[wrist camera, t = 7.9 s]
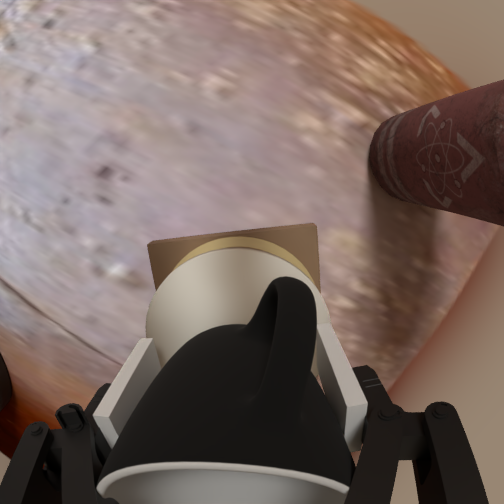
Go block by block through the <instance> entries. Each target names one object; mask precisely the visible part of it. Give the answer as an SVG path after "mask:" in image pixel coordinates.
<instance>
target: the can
mask: <svg viewBox="0 0 504 504" xmlns="http://www.w3.org/2000/svg"><path fill="white" fill-rule="evenodd" d="M370 162H371V166H372V170H373V174H374V176H375V177H376V179H377V181H378V182H379V184H380V186H381V187H382V188H383V189H384V190H385V191H386V192H387V193H388V194H389V195H391V196H393V197H395V198H397V199H399V200H401V201H405V202H410V203H414V204H419V205H423V206H428V207H432V208H436V209H440V210H444V211H448V212H452V213H456V214H460V215H464V216H468V217H472V218H476V219H479V220H483V221H487V222H490V223H494V224H497V225H501V226H504V80H501V81H497V82H494V83H491V84H487V85H484V86H481V87H477V88H474V89H471V90H468V91H465V92H462V93H458V94H455V95H452V96H449V97H446V98H443V99H440V100H438V101H435V102H432V103H429V104H426V105H423V106H420V107H418V108H415V109H412V110H409V111H407V112H404V113H401V114H398V115H396V116H393V117H391V118H389V119H388V120H386V121H385V122H383V123H382V124H381V125H380V126H379V128H378V129H377V130H376V132H375V133H374V136H373V139H372V142H371V145H370Z"/></svg>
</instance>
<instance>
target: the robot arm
mask: <svg viewBox="0 0 504 504" xmlns="http://www.w3.org/2000/svg"><path fill="white" fill-rule="evenodd" d="M316 350H317V370H318V373H319V376H320V379H321V383H322V386H323V389H324V393H325V396H326V398H327V400H328V403H329V405H330V407H331V409H332V411H333V413H334V415H335V417H336V420H337V422H338V424H339V426H340V428H341V431H342V433H343V435H344V438H345V440H346V443H347V445H348V448H349V450H350V452H355V451H360V450H361V453H360V456H359V460H358V463H357V466H356V470H355V473H354V476H353V479H352V482H351V485H350V488H349V491H348V494H347V497H346V499H345V502H344V504H390V501H391V496H392V491H393V487H394V482H395V477H396V472H397V466H398V461H399V460H412V463H413V469H414V475H415V481H416V487H417V494H418V500H419V504H489V503H488V499H487V496H486V492H485V489H484V486H483V482H482V479H481V476H480V473H479V470H478V467H477V464H476V461H475V458H474V455H473V452H472V450H471V447H470V444H469V442H468V439H467V436H466V433H465V431H464V428H463V426H462V423H461V421H460V418H459V416H458V413H457V411H456V409H455V408H454V406H453V405H451V404H449V403H446V402H435V403H431V404H430V405H429V406H427V408H426V410H425V412H415V413H411V412H404V411H403V409H402V408H401V407H399V406H398V405H395V404H393V403H392V401H391V400H390V398H389V396H388V394H387V392H386V390H385V388H384V387H383V385H382V384H381V381H380V379H378V376H377V374H376V372H375V371H374V370H373V369H372V368H370V367H369V366H367V365H365V366H360V367H354V368H351V365H350V363H349V361H348V359H347V357H346V355H345V353H344V351H343V349H342V346H341V344H340V342H339V340H338V338H337V336H336V334H335V332H334V330H333V328H332V326H331V324H330V323H324V324H317V334H316ZM160 371H161V365H160V362H159V358H158V355H157V351H156V348H155V344H154V340H153V338H142V339H140V340H139V341H138V343H137V345H136V346H135V348H134V349H133V351H132V352H131V354H130V356H129V357H128V359H127V360H126V362H125V363H124V365H123V367H122V368H121V370H120V371H119V373H118V375H117V376H116V378H115V379H114V381H113V383H112V384H109V383H106V384H104V385H103V386H102V387H100V388H99V389H98V391H97V392H96V394H95V395H94V397H93V398H92V400H91V402H90V403H89V404H88V406H87V408H86V409H85V411H83V409H82V407H81V406H80V405H79V404H75V403H72V404H66V405H64V406H62V407H60V408H59V409H58V410H57V411H56V413H55V416H56V418H57V420H58V422H59V423H60V425H61V427H62V429H54V430H50V428H49V426H48V425H47V424H46V423H45V422H41V421H39V422H34V423H32V424H30V425H29V426H28V427H27V428H26V429H25V431H24V433H23V435H22V438H21V440H20V442H19V444H18V446H17V448H16V450H15V452H14V455H13V457H12V459H11V461H10V464H9V466H8V468H7V471H6V473H5V475H4V478H3V480H2V482H1V485H0V504H119V503H118V502H117V501H116V500H115V499H113V498H110V497H109V498H106V499H105V498H102V497H101V496H100V494H99V493H98V492H97V489H96V487H97V482H98V479H99V477H100V474H101V472H102V469H103V467H104V465H105V462H106V460H107V458H108V456H109V454H110V452H111V450H112V448H113V446H114V445H115V443H116V441H117V439H118V437H119V435H120V433H121V432H122V430H123V428H124V426H125V424H126V423H127V421H128V419H129V417H130V416H131V414H132V412H133V411H134V409H135V407H136V406H137V404H138V403H139V401H140V399H141V398H142V396H143V395H144V393H145V392H146V390H147V389H148V387H149V386H150V384H151V383H152V381H153V380H154V379H155V377H156V376H157V375H158V373H159V372H160ZM10 398H11V384H10V379H9V376H8V372H7V370H6V367H5V364H4V362H3V360H2V357H1V355H0V411H1V410H2V409H3V408H4V407H5V406H6V405H7V403H8V402H9V401H10ZM362 444H363V446H362V449H361V445H362ZM43 464H45V467H44V469H43Z"/></svg>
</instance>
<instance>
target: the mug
mask: <svg viewBox="0 0 504 504" xmlns="http://www.w3.org/2000/svg"><path fill="white" fill-rule="evenodd" d="M316 334H317V310H316V302H315V298H314V295H313V293H312V291H311V289H310V288H309V287H308V285H307V284H305V283H304V282H303V281H301V280H299V279H296V278H293V277H288V276H284V277H278V278H276V279H274V280H273V281H271V283H270V284H269V285H268V287H267V289H266V290H265V292H264V294H263V296H262V298H261V300H260V302H259V305H258V307H257V309H256V311H255V313H254V315H253V317H252V319H251V320H250V321H249V323H248V324H247V325H246V324H228V325H222V326H217V327H214V328H211V329H208V330H206V331H203V332H201V333H199V334H197V335H196V336H194V337H193V338H191V339H190V340H189V341H187V342H186V343H185V344H184V345H183V346H182V347H181V348H180V349H179V350H178V351H177V352H176V353H175V354H174V355H173V356H172V357H171V358H170V359H169V360H168V362H167V363H166V364H165V365H164V367H163V368H162V369H161V371H160V372H159V373H158V375H157V376H156V377H155V379H154V380H153V381H152V383H151V384H150V386H149V387H148V389H147V390H146V392H145V393H144V395H143V396H142V398H141V399H140V401H139V403H138V404H137V406H136V407H135V409H134V411H133V412H132V414H131V416H130V417H129V419H128V421H127V423H126V424H125V426H124V428H123V430H122V432H121V433H120V435H119V437H118V439H117V441H116V443H115V445H114V446H113V448H112V450H111V452H110V454H109V456H108V458H107V460H106V462H105V465H104V467H103V469H102V472H101V474H100V477H99V479H98V482H97V487H96V489H97V492H98V493H99V494H100V496H101V497H102V498H105V499H106V498H109V497H110V498H113V499H115V500H116V501H117V502H118V503H119V504H344V502H345V499H346V497H347V494H348V491H349V488H350V485H351V482H352V479H353V476H354V473H355V470H356V466H355V463H354V461H353V458H352V456H351V453H350V450H349V448H348V445H347V443H346V440H345V438H344V435H343V433H342V431H341V428H340V426H339V424H338V422H337V420H336V417H335V415H334V413H333V411H332V409H331V407H330V405H329V403H328V400H327V398H326V396H325V394H324V392H323V391H322V389H321V387H320V385H319V383H318V381H317V380H316V378H315V376H314V375H313V373H312V371H311V367H312V363H313V357H314V351H315V344H316Z"/></svg>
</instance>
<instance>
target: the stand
mask: <svg viewBox="0 0 504 504" xmlns="http://www.w3.org/2000/svg"><path fill="white" fill-rule="evenodd" d="M147 247H148V252H149V258H150V263H151V268H152V274H153V279H154V284H155V288H156V293H155V294H154V296H153V298H152V301H151V303H150V305H149V309H148V313H147V318H146V338H153V340H154V344H155V348H156V351H157V355H158V358H159V362H160V365H161V369H162V368H163V367H164V365H165V364H166V363H167V362H168V360H169V359H170V358H171V357H172V356H173V355H174V354H175V353H176V352H177V351H178V350H179V349H180V348H181V347H182V346H183V345H184V344H185V343H186V342H187V341H189V340H190V339H191V338H193V337H194V336H196V335H197V334H199V333H201V332H203V331H206V330H208V329H211V328H214V327H217V326H222V325H228V324H246V325H247V324H248V323H249V321H250V320H251V319H252V317H253V315H254V313H255V311H256V309H257V307H258V305H259V302H260V300H261V298H262V296H263V294H264V292H265V290H266V289H267V287H268V285H269V284H270V283H271V281H273V280H274V279H276V278H278V277H284V276H288V277H293V278H296V279H299V280H301V281H303V282H304V283H305V284H307V285H308V287H309V288H310V289H311V291H312V293H313V295H314V298H315V302H316V310H317V324H324V323H330V324H331V320H330V315H329V311H328V309H327V306H326V304H325V301H324V299H323V297H322V296H321V291H320V269H319V252H318V236H317V226H316V225H315V224H314V223H309V224H299V225H289V226H279V227H270V228H260V229H251V230H242V231H233V232H224V233H215V234H206V235H197V236H189V237H180V238H172V239H164V240H156V241H152V242H150V243H149V244H147ZM311 371H312V373H313V375H314V376H315V378H316V377H317V376H318V374H319V373H318V370H317V350H316V344H315V351H314V357H313V363H312V367H311Z"/></svg>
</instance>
